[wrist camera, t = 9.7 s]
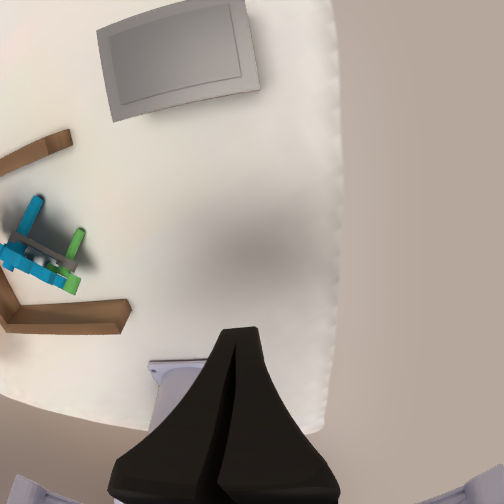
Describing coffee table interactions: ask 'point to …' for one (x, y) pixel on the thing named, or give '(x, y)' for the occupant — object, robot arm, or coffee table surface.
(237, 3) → the block
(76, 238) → the blue green toy construction
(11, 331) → the frame
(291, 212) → the coffee table surface
